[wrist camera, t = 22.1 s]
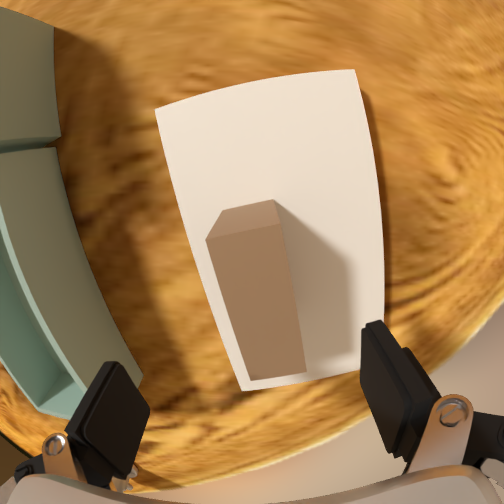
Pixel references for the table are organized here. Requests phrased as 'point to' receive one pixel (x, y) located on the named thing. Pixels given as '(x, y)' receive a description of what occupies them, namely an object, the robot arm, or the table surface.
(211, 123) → the lid
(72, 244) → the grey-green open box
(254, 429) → the table surface
